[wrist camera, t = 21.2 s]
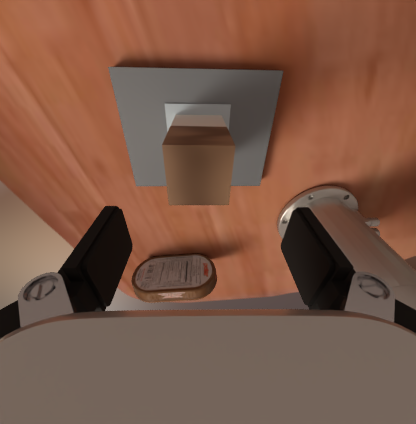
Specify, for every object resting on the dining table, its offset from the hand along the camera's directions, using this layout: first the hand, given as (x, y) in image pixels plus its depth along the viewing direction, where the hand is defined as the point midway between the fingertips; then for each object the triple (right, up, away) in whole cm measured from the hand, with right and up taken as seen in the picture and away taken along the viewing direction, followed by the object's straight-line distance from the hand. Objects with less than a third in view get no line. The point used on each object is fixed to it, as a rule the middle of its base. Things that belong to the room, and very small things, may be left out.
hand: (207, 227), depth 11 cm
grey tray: (-1, +10, +13) cm, 17 cm away
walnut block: (-1, +6, +8) cm, 10 cm away
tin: (-6, -8, +27) cm, 29 cm away
